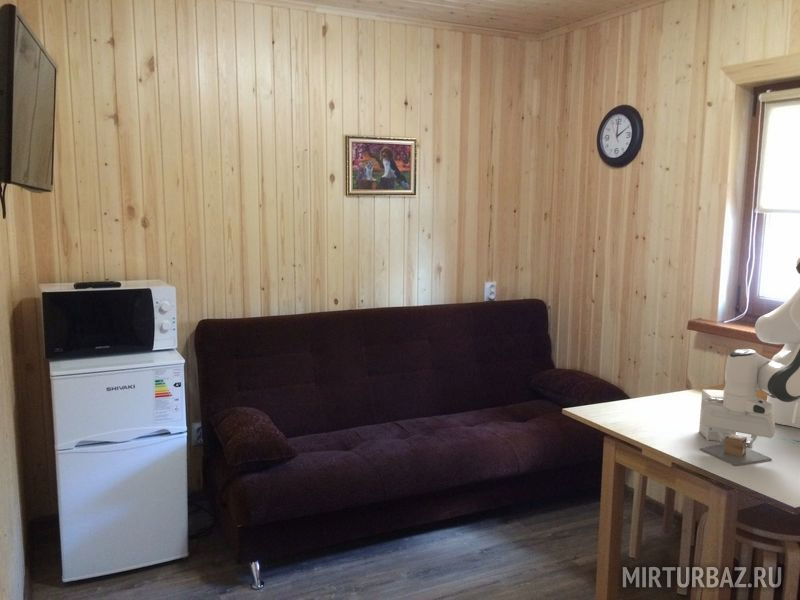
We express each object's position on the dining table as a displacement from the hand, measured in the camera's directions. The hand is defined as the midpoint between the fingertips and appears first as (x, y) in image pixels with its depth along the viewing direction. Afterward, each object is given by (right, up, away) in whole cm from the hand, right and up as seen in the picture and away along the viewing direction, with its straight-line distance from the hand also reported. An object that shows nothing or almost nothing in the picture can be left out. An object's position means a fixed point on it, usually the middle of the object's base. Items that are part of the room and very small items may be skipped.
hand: (735, 445), depth 203 cm
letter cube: (0, -3, 0) cm, 3 cm away
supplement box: (+2, -1, +16) cm, 17 cm away
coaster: (0, -3, 0) cm, 3 cm away
